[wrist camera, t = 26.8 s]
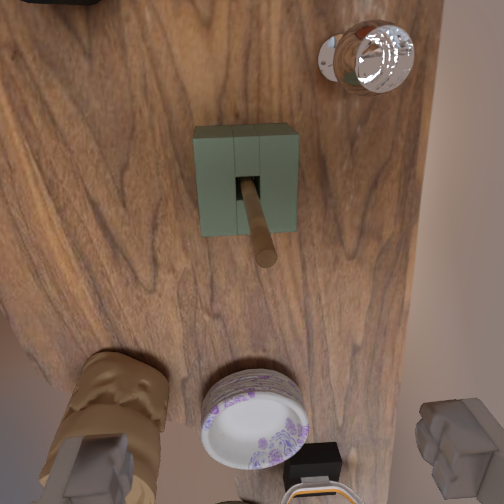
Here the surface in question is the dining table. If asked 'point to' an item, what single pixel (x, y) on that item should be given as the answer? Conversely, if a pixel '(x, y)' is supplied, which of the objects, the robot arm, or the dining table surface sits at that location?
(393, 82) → the wineglass
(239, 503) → the vase
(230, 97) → the dining table surface
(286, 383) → the paper bowls
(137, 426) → the container
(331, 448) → the lamp
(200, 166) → the stick stand
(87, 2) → the cup
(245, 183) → the stirring stick
